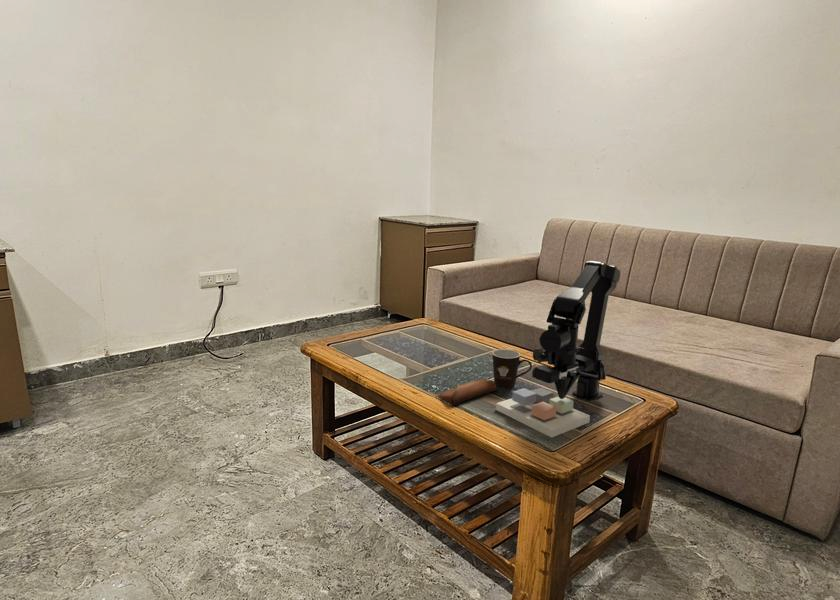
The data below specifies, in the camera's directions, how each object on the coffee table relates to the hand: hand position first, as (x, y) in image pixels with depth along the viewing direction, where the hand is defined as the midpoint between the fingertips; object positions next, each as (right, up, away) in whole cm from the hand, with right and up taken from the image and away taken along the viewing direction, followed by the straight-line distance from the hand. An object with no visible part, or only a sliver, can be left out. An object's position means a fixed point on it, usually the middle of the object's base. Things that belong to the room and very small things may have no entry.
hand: (561, 398), depth 149 cm
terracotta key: (-6, -4, -3) cm, 8 cm away
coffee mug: (-11, 0, +23) cm, 26 cm away
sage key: (0, -3, +1) cm, 3 cm away
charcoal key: (-4, -2, +6) cm, 8 cm away
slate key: (-10, -1, +2) cm, 10 cm away
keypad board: (-5, -5, +2) cm, 7 cm away
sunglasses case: (-24, -2, +16) cm, 29 cm away
